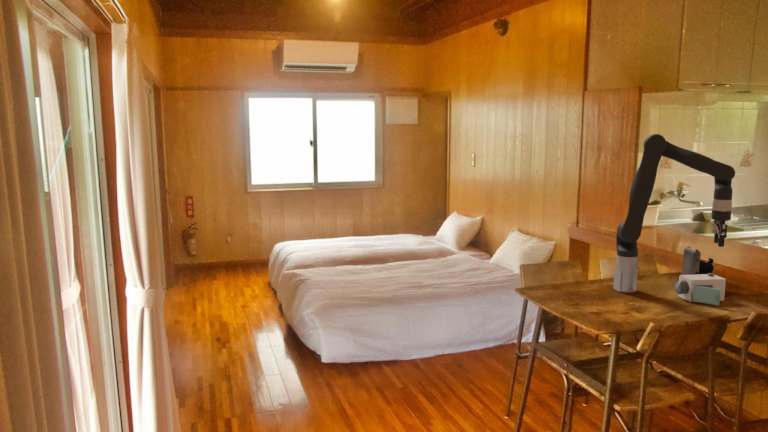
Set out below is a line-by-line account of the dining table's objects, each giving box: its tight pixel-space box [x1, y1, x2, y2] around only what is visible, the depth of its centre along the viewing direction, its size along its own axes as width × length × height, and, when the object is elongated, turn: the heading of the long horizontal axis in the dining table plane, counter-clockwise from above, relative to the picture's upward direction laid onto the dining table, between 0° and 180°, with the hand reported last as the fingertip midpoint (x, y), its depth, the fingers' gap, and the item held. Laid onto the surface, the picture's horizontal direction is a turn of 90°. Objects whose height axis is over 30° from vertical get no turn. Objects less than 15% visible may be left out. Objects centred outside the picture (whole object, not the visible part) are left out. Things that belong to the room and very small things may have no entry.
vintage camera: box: [680, 246, 716, 275], centre depth 270 cm, size 10×15×20 cm, turn 89°
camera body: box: [674, 272, 727, 303], centre depth 253 cm, size 19×9×11 cm, turn 95°
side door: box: [691, 285, 721, 306], centre depth 244 cm, size 11×2×7 cm, turn 50°
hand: (718, 244), depth 252 cm, fingers open, 8 cm apart
